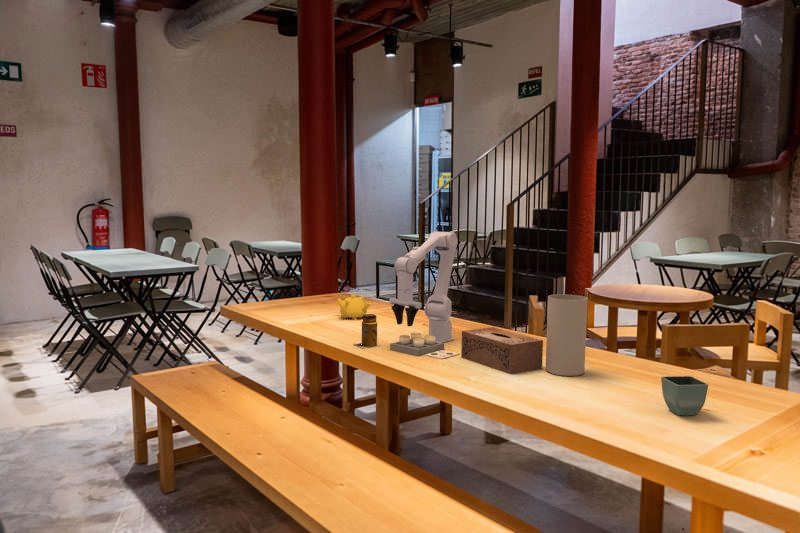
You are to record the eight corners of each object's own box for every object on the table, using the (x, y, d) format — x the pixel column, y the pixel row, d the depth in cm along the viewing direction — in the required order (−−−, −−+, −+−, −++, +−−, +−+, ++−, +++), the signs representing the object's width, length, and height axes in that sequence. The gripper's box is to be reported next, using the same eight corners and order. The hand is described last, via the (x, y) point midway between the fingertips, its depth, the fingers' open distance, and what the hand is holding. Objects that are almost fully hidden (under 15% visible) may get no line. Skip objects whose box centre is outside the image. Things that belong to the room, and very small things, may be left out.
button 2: (415, 339, 247) (415, 332, 247) (423, 341, 244) (423, 333, 244) (408, 341, 244) (408, 333, 244) (416, 342, 241) (416, 335, 241)
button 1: (404, 342, 242) (404, 334, 242) (412, 343, 240) (412, 336, 239) (397, 343, 239) (397, 336, 239) (405, 345, 237) (405, 337, 236)
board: (416, 343, 250) (416, 337, 250) (444, 349, 241) (444, 343, 240) (390, 349, 239) (390, 343, 239) (418, 356, 230) (418, 349, 229)
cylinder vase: (537, 369, 214) (540, 295, 211) (568, 365, 219) (570, 293, 216) (561, 378, 202) (564, 300, 200) (592, 374, 207) (595, 299, 205)
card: (442, 351, 238) (442, 349, 238) (459, 354, 233) (459, 353, 233) (424, 355, 231) (424, 354, 231) (442, 359, 225) (442, 357, 225)
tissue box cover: (461, 358, 228) (461, 331, 227) (491, 353, 236) (492, 327, 235) (510, 374, 207) (510, 344, 206) (542, 369, 215) (543, 340, 214)
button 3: (418, 345, 238) (418, 337, 237) (426, 346, 235) (426, 338, 235) (411, 346, 235) (411, 338, 234) (419, 348, 232) (419, 340, 232)
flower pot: (658, 408, 174) (660, 375, 173) (689, 407, 175) (691, 375, 174) (675, 418, 165) (676, 385, 164) (707, 418, 166) (709, 384, 165)
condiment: (381, 346, 245) (381, 315, 244) (362, 348, 241) (362, 317, 240) (371, 342, 251) (371, 312, 250) (353, 345, 247) (353, 314, 246)
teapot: (381, 317, 307) (381, 294, 306) (359, 323, 292) (359, 299, 291) (347, 313, 318) (348, 291, 317) (325, 318, 303) (325, 295, 302)
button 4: (429, 342, 242) (429, 334, 242) (437, 344, 240) (437, 336, 239) (422, 344, 239) (422, 336, 239) (430, 345, 237) (430, 337, 236)
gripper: (383, 288, 239) (383, 323, 241) (412, 292, 230) (412, 329, 231) (396, 286, 245) (396, 321, 246) (425, 290, 235) (424, 326, 236)
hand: (404, 325), depth 239 cm, fingers open, 5 cm apart
